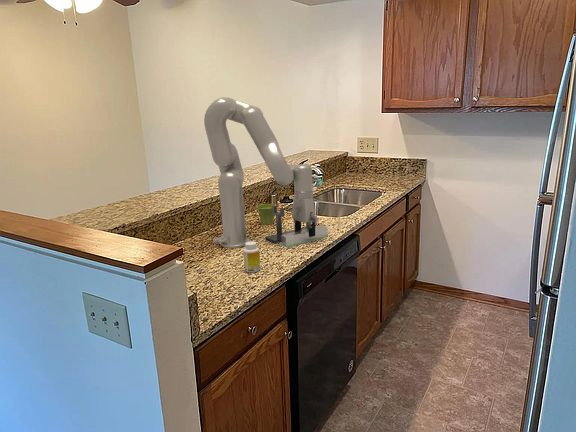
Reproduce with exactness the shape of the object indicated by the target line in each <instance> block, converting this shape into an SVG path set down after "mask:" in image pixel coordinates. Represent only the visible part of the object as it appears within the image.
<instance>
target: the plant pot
mask: <svg viewBox="0 0 576 432" xmlns="http://www.w3.org/2000/svg"><path fill="white" fill-rule="evenodd" d="M275 205H276V204H274V203H263V204H259V205H257V206H256V208H257V211H258V214H259V220H260V224H262V225H264V226H269V225H273V224H274V222H275V214H273V209H272V206H275Z"/></svg>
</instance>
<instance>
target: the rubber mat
mask: <svg viewBox="0 0 576 432" xmlns="http://www.w3.org/2000/svg"><path fill="white" fill-rule="evenodd" d="M321 238H322V239H325V238H328V235H324V236H321V237H317V238H313V239H309V240H306V241H302V242H298V243H294V244H291V245H287V246H286V245H283V244H281V243H279V245H281V246H283V247H285V248H292V247H295V246H299V245H303V244H307V243H310V241H311V242H313V241H317V240H321Z"/></svg>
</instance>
